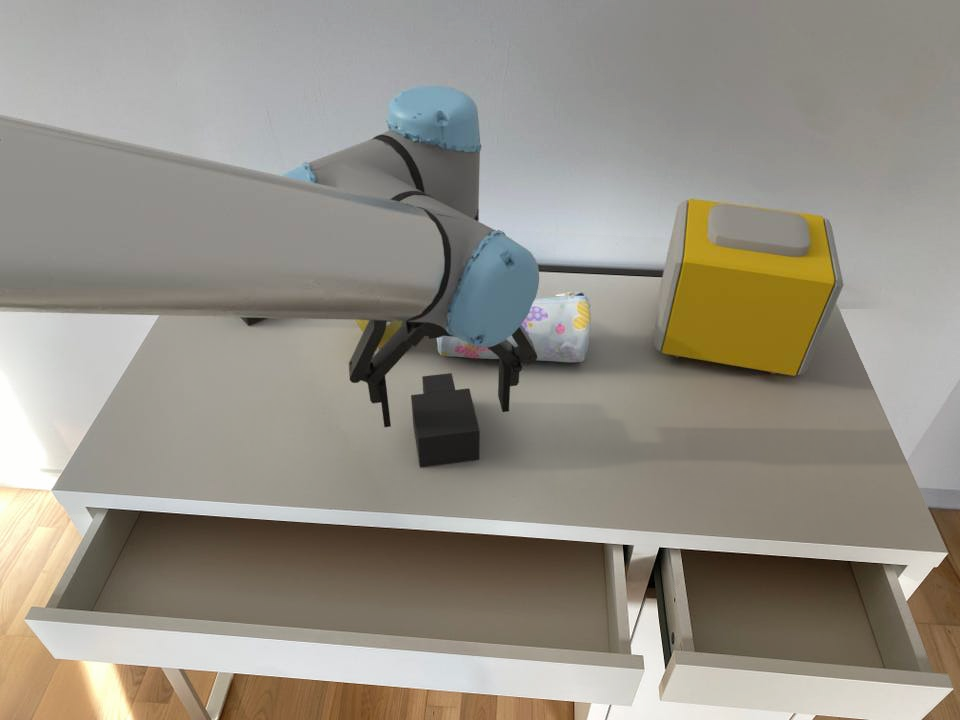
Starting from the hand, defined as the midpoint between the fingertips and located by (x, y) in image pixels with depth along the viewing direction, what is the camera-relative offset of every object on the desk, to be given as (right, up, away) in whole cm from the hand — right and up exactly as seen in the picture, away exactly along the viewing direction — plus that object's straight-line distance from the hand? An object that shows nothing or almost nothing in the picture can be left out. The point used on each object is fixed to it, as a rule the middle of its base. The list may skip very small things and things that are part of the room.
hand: (445, 411), depth 83 cm
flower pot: (-9, +9, +18) cm, 21 cm away
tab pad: (0, -3, +4) cm, 5 cm away
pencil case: (+8, +7, +16) cm, 19 cm away
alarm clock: (+38, +9, +18) cm, 43 cm away
